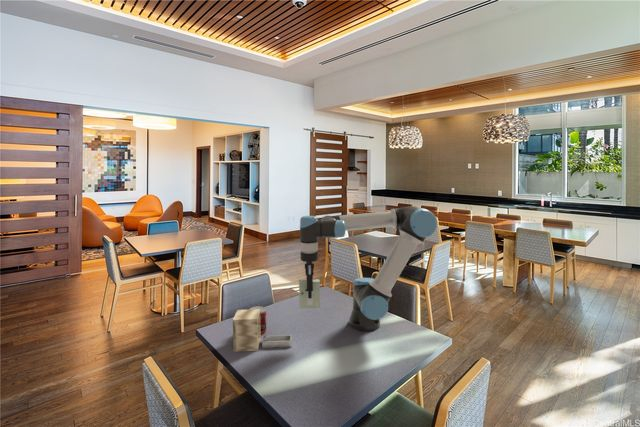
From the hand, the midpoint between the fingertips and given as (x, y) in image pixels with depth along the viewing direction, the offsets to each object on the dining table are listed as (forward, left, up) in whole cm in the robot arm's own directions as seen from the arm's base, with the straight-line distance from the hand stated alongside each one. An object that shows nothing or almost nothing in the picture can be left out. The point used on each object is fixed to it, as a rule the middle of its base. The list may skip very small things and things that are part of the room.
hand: (309, 302), depth 145 cm
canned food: (+24, -9, -18) cm, 31 cm away
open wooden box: (+27, +3, -17) cm, 32 cm away
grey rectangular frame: (+14, +3, -17) cm, 23 cm away
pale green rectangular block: (0, 0, -2) cm, 2 cm away
